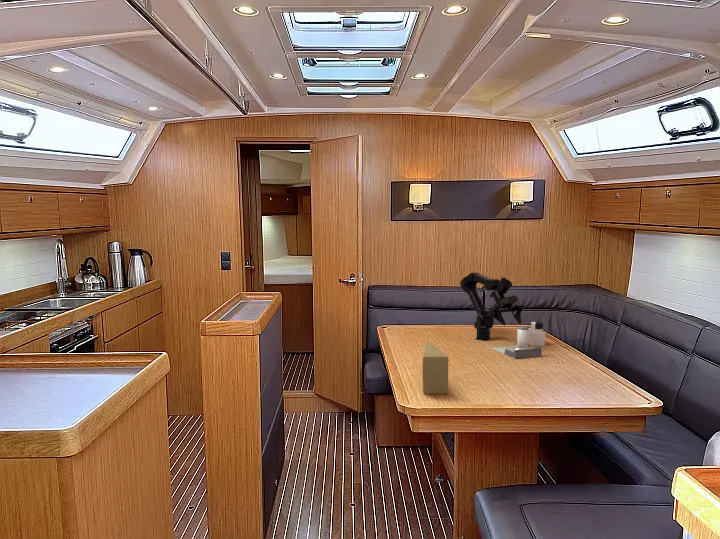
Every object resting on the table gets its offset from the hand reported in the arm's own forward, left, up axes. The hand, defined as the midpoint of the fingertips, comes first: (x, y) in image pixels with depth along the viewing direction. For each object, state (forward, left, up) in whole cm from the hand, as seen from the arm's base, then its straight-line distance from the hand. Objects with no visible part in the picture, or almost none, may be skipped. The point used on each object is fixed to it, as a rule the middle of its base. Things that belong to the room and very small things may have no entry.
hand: (512, 324), depth 245 cm
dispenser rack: (+7, -4, -13) cm, 16 cm away
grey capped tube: (+7, -4, -13) cm, 16 cm away
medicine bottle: (+5, +21, -14) cm, 25 cm away
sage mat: (-1, +1, -13) cm, 14 cm away
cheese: (-5, -70, -14) cm, 71 cm away
